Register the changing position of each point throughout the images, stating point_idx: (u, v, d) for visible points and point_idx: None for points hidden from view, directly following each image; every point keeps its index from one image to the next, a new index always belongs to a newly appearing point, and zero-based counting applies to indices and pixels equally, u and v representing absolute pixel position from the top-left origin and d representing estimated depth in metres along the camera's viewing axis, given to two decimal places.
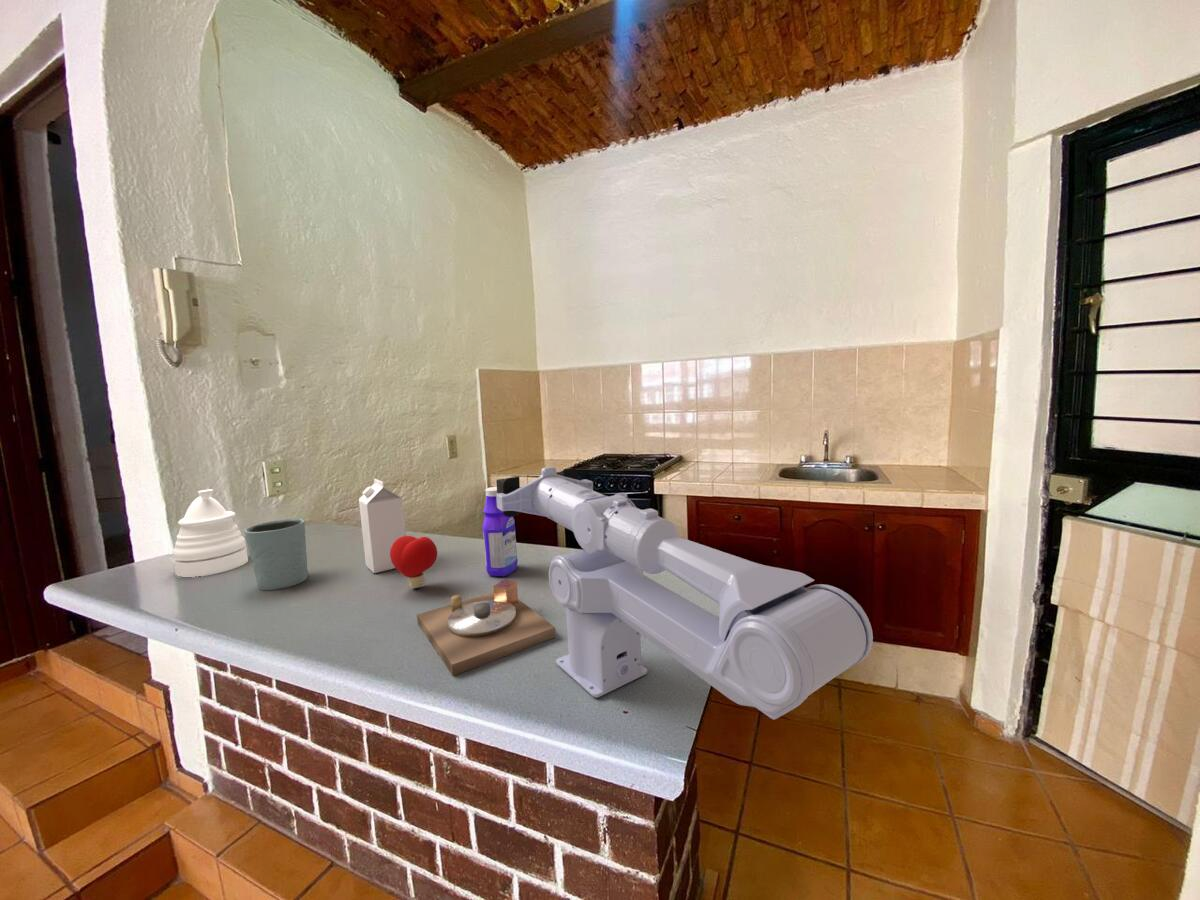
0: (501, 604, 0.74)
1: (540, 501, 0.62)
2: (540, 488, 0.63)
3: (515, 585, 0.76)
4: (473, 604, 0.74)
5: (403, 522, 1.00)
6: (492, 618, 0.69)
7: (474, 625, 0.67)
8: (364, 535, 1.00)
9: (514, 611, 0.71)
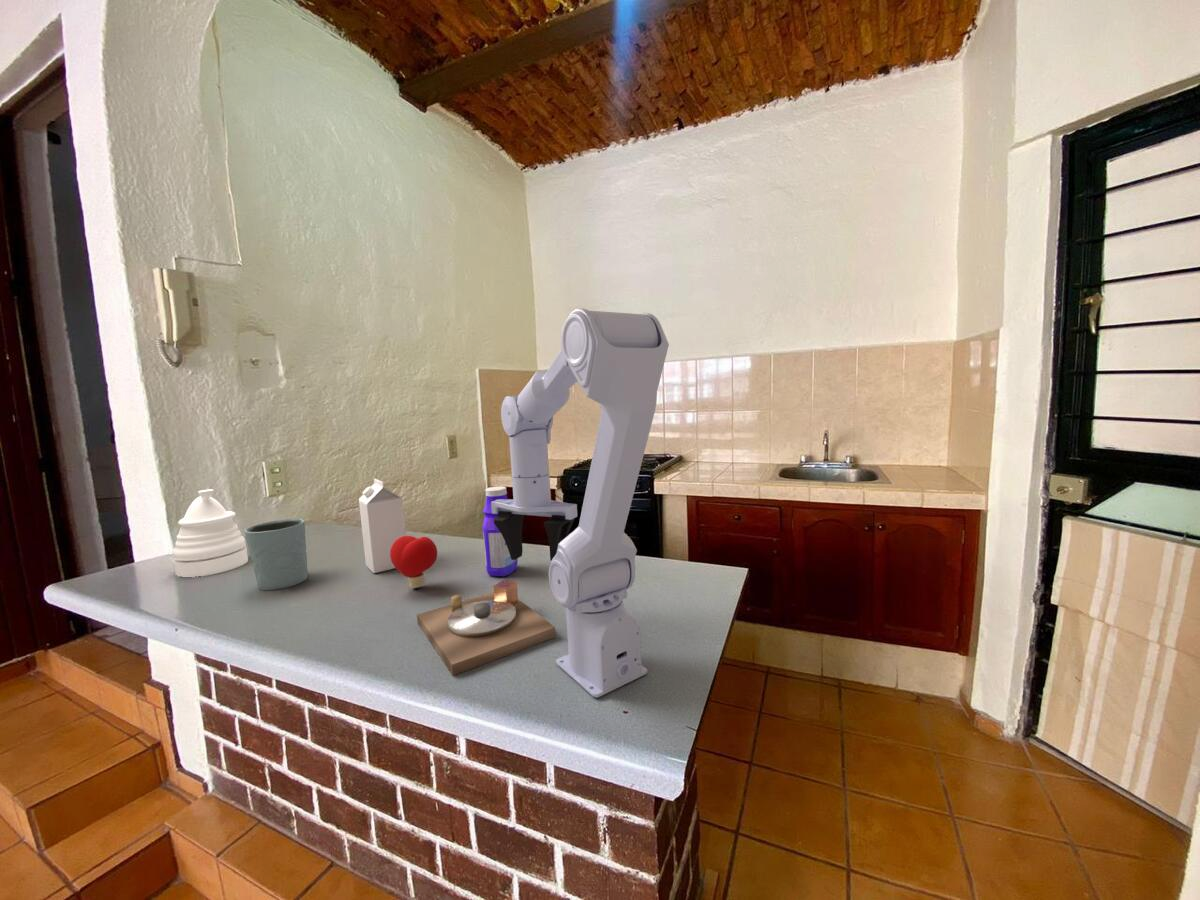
0: (501, 604, 0.74)
1: None
2: None
3: (515, 585, 0.76)
4: (473, 604, 0.74)
5: (403, 522, 1.00)
6: (492, 618, 0.69)
7: (474, 625, 0.67)
8: (364, 535, 1.00)
9: (514, 611, 0.71)
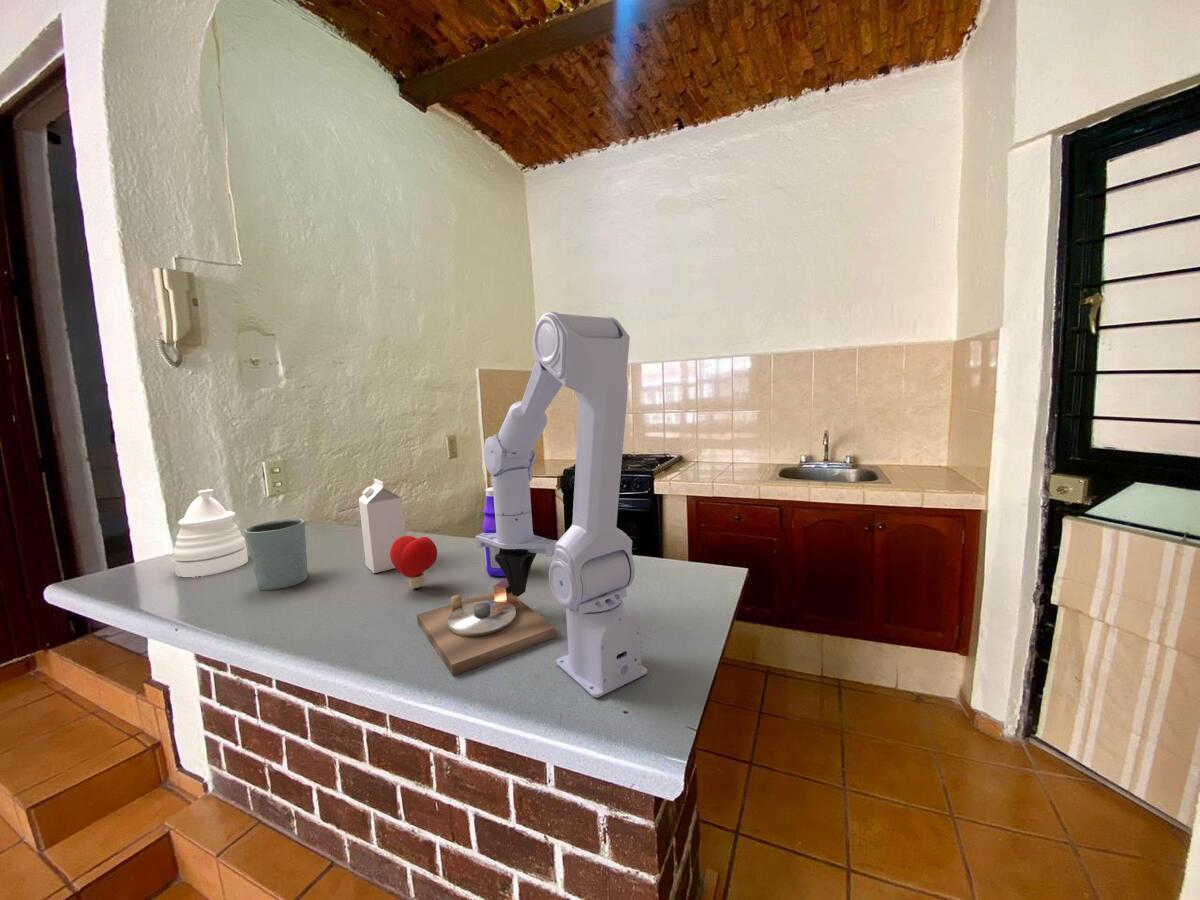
0: (501, 604, 0.74)
1: None
2: None
3: None
4: (473, 604, 0.74)
5: (403, 522, 1.00)
6: (492, 618, 0.69)
7: (474, 625, 0.67)
8: (364, 535, 1.00)
9: (514, 611, 0.71)
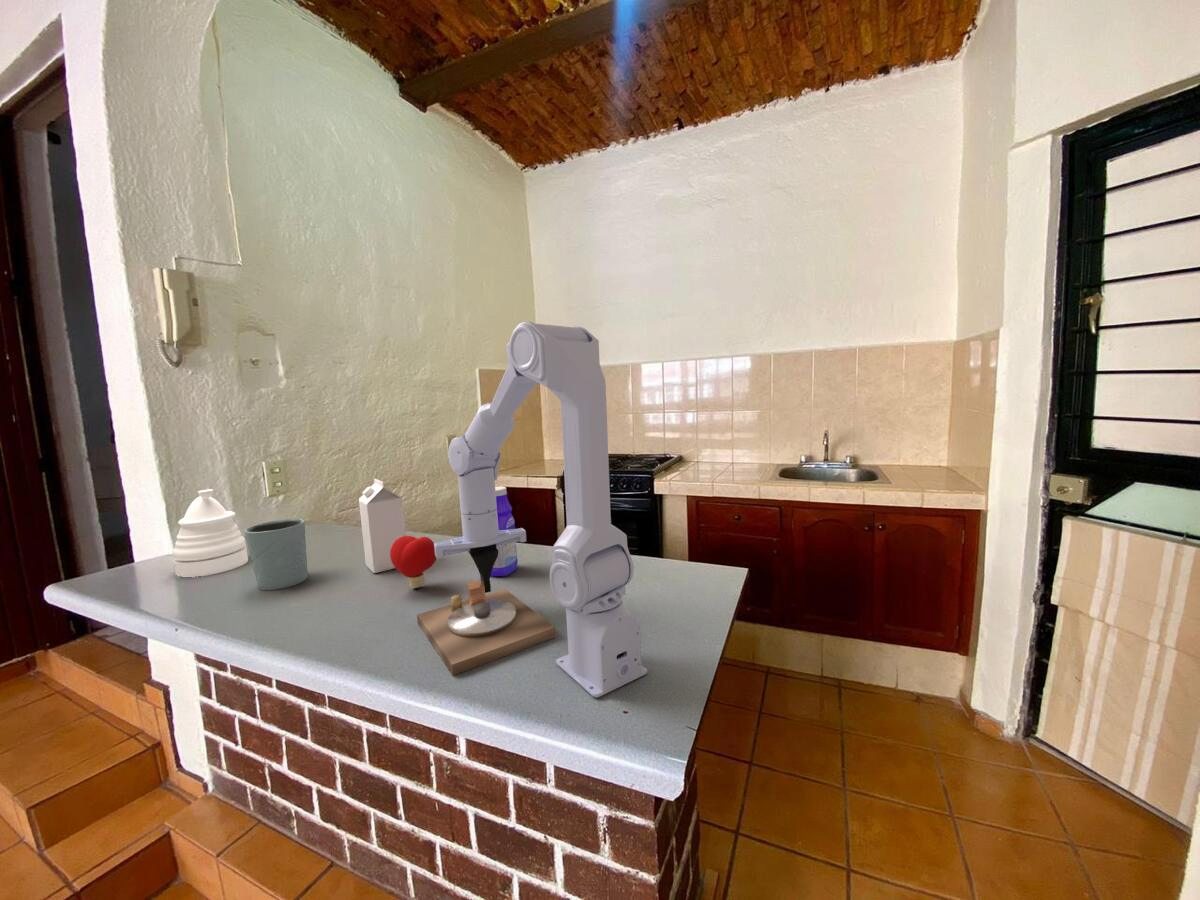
0: None
1: None
2: None
3: None
4: (455, 613, 0.71)
5: (403, 522, 1.00)
6: (498, 612, 0.71)
7: (494, 621, 0.68)
8: (364, 535, 1.00)
9: (506, 602, 0.74)
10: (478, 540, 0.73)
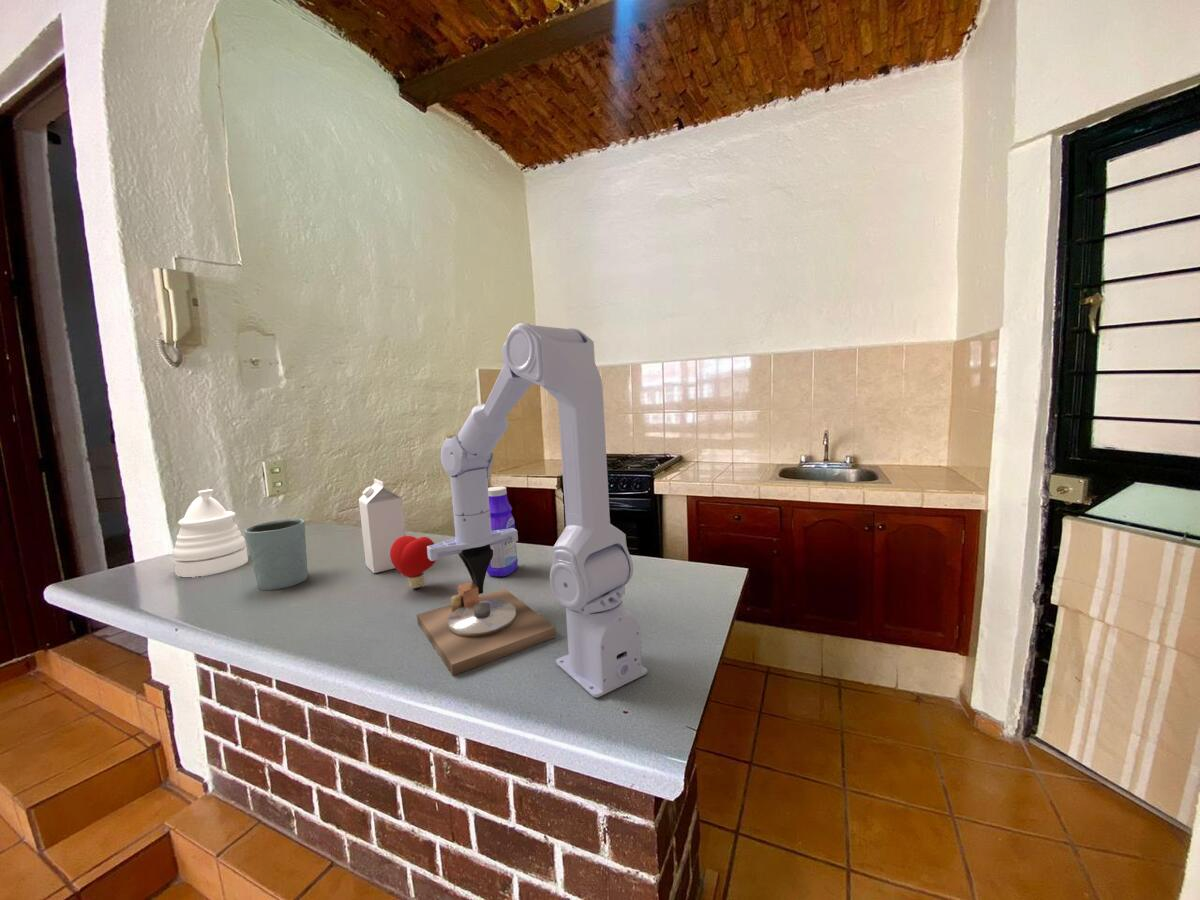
0: None
1: None
2: None
3: None
4: (453, 616, 0.70)
5: (403, 522, 1.00)
6: (498, 611, 0.71)
7: (498, 619, 0.69)
8: (364, 535, 1.00)
9: (501, 601, 0.75)
10: (473, 541, 0.73)
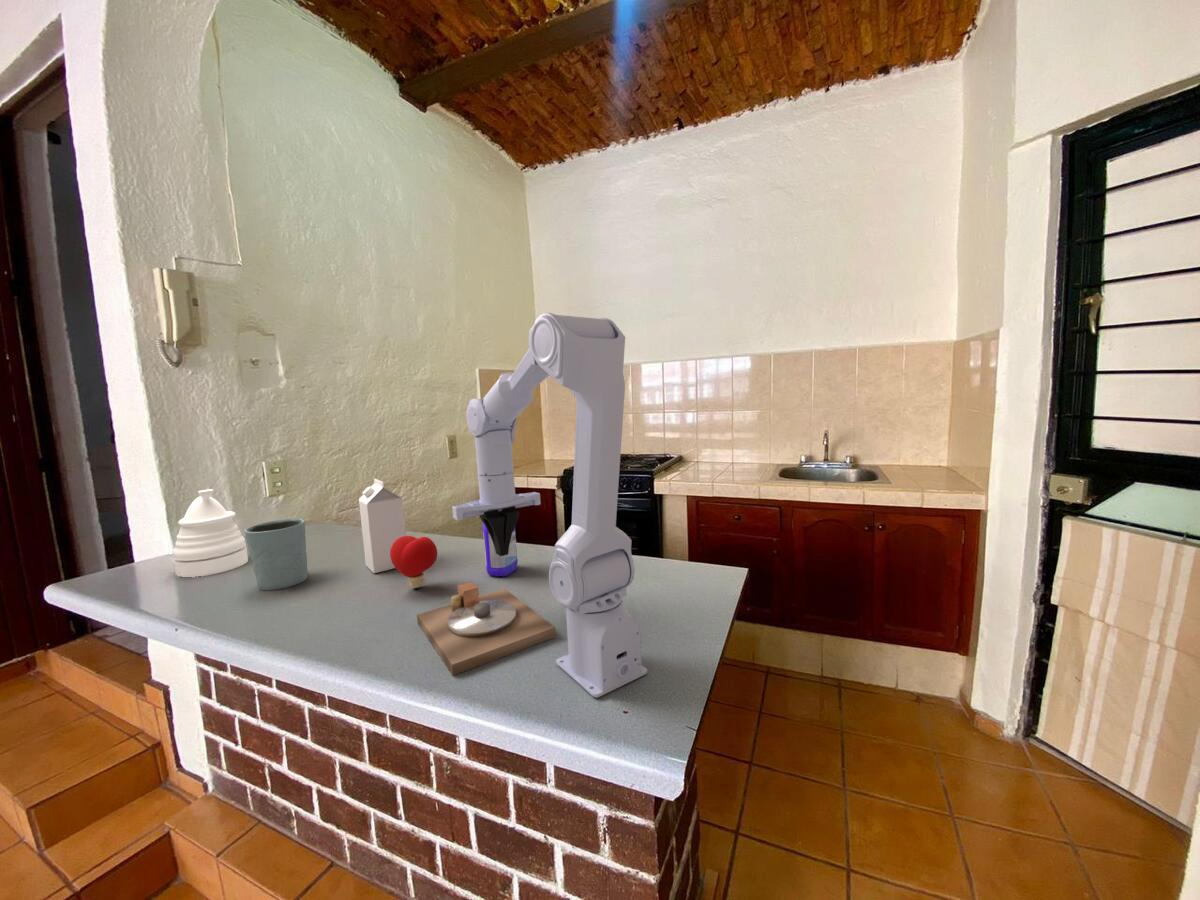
0: None
1: (479, 487, 0.75)
2: None
3: None
4: (453, 616, 0.70)
5: (403, 522, 1.00)
6: (498, 611, 0.71)
7: (498, 619, 0.69)
8: (364, 535, 1.00)
9: (501, 601, 0.75)
10: (498, 501, 0.74)
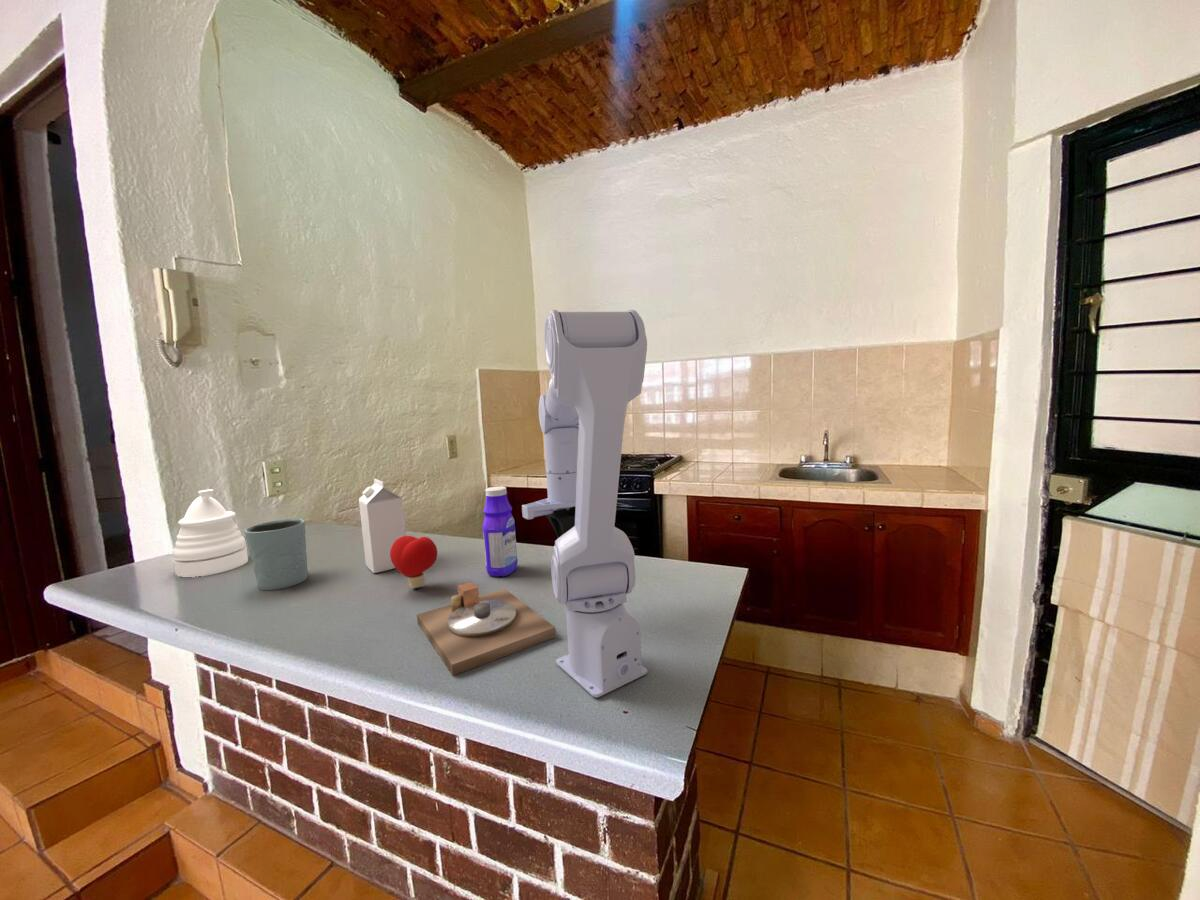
0: None
1: (548, 485, 0.73)
2: None
3: None
4: (453, 616, 0.70)
5: (403, 522, 1.00)
6: (498, 611, 0.71)
7: (498, 619, 0.69)
8: (364, 535, 1.00)
9: (501, 601, 0.75)
10: (569, 500, 0.71)
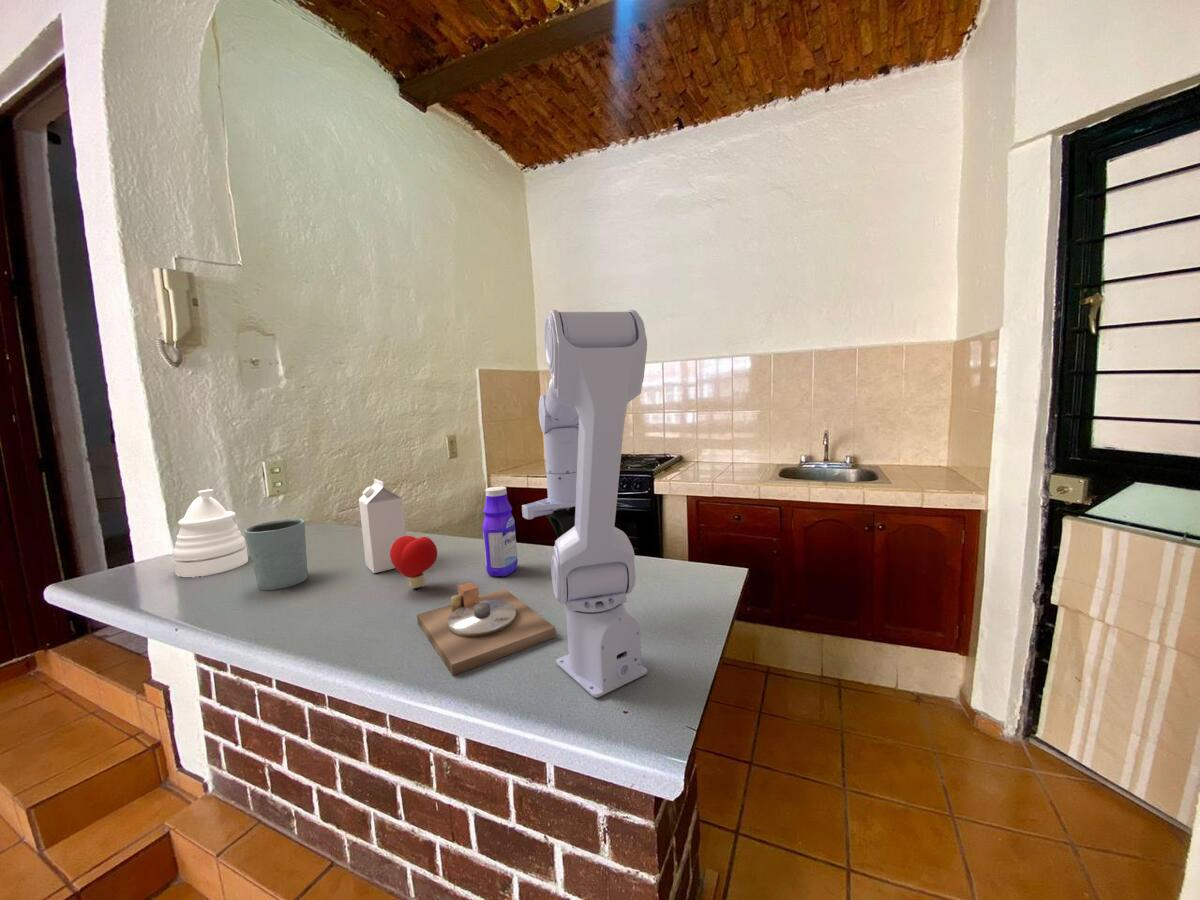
0: None
1: (548, 485, 0.73)
2: None
3: None
4: (453, 616, 0.70)
5: (403, 522, 1.00)
6: (498, 611, 0.71)
7: (498, 619, 0.69)
8: (364, 535, 1.00)
9: (501, 601, 0.75)
10: (569, 500, 0.71)
